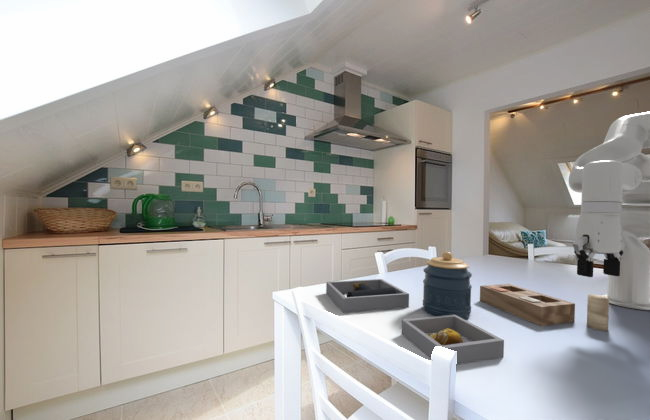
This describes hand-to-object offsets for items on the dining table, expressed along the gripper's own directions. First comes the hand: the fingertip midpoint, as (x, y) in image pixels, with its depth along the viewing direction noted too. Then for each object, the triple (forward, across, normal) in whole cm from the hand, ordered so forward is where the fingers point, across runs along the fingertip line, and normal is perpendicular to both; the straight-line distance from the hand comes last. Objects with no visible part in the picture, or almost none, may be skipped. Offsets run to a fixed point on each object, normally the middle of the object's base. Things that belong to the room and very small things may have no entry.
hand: (598, 275), depth 73 cm
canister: (+14, +31, -18) cm, 39 cm away
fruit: (+15, +46, -2) cm, 48 cm away
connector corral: (+14, +50, -33) cm, 62 cm away
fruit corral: (+15, +44, -1) cm, 46 cm away
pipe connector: (+15, +50, -32) cm, 61 cm away
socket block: (+14, +7, -14) cm, 21 cm away
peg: (+14, -1, 0) cm, 14 cm away
